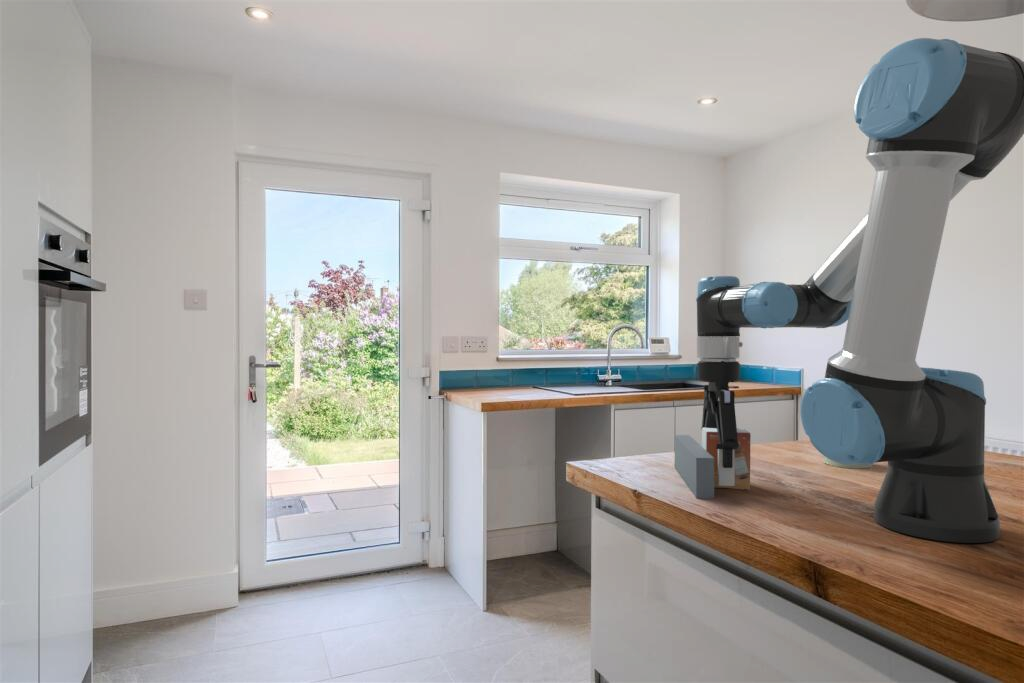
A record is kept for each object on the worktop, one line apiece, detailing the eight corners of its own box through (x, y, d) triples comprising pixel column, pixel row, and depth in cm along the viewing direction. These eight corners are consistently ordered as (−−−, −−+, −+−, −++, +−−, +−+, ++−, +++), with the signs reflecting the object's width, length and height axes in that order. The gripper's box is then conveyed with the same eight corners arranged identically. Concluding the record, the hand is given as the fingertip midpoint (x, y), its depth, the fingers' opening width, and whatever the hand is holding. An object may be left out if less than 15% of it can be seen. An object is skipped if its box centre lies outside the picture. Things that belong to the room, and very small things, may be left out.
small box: (705, 488, 113) (705, 431, 113) (701, 481, 119) (701, 426, 119) (751, 490, 112) (751, 432, 112) (744, 482, 117) (744, 427, 117)
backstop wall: (714, 498, 106) (714, 458, 106) (696, 498, 106) (696, 457, 106) (689, 468, 130) (689, 435, 130) (674, 467, 130) (674, 434, 130)
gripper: (757, 363, 102) (757, 494, 103) (724, 357, 126) (724, 464, 126) (711, 363, 103) (711, 493, 103) (686, 357, 127) (686, 463, 127)
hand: (718, 477), depth 115 cm, fingers open, 11 cm apart
